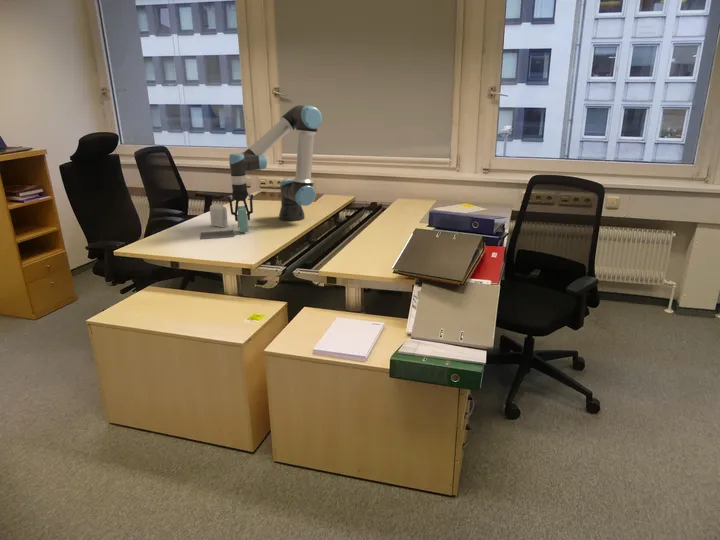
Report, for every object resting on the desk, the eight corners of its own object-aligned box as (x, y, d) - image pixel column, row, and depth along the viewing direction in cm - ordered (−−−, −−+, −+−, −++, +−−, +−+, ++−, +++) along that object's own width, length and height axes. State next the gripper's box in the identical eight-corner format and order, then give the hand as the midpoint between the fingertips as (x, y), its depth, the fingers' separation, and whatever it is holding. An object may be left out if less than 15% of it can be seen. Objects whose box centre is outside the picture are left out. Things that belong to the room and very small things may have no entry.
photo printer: (229, 226, 297) (227, 204, 293) (223, 228, 293) (221, 206, 289) (215, 224, 302) (213, 202, 298) (210, 225, 298) (208, 204, 294)
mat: (233, 230, 288) (233, 230, 288) (233, 236, 276) (233, 236, 276) (200, 232, 284) (200, 232, 284) (200, 239, 272) (200, 238, 272)
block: (246, 227, 289) (244, 205, 285) (247, 231, 281) (245, 209, 277) (239, 227, 288) (237, 206, 284) (240, 232, 280) (238, 210, 276)
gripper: (255, 181, 282) (258, 223, 290) (222, 183, 278) (226, 226, 286) (256, 183, 275) (259, 226, 283) (222, 185, 271) (227, 229, 279)
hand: (243, 226), depth 284 cm, fingers closed on block, 4 cm apart
